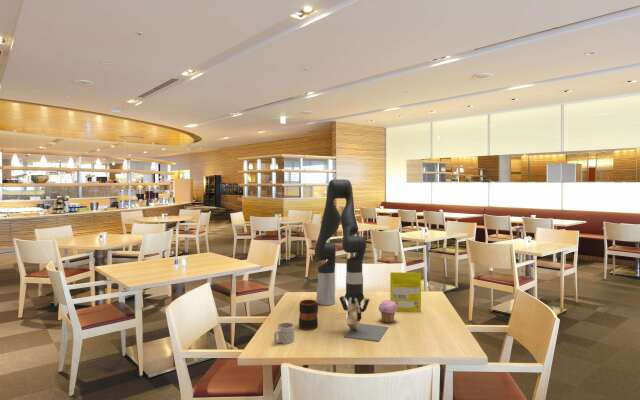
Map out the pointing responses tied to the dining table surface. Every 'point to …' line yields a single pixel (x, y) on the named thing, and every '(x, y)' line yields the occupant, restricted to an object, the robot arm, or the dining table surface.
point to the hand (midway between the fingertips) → (354, 320)
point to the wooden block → (353, 318)
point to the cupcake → (388, 310)
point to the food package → (406, 291)
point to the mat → (367, 332)
